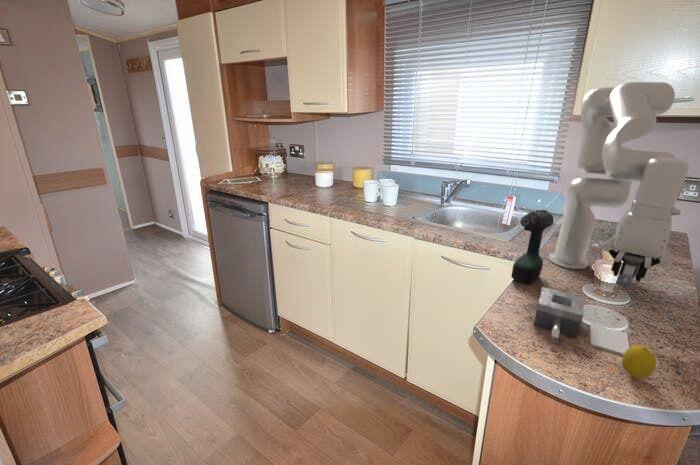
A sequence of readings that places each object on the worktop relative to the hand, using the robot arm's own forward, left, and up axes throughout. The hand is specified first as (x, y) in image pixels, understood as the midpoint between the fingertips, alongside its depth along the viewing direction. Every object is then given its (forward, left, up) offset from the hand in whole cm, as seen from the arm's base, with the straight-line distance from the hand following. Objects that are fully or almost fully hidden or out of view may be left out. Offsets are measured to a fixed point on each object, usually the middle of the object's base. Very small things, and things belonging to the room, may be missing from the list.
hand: (626, 275), depth 92 cm
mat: (+10, -1, -14) cm, 17 cm away
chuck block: (+13, -13, -14) cm, 23 cm away
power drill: (-12, -24, -15) cm, 30 cm away
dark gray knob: (0, 0, -3) cm, 3 cm away
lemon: (+22, +3, -15) cm, 26 cm away
